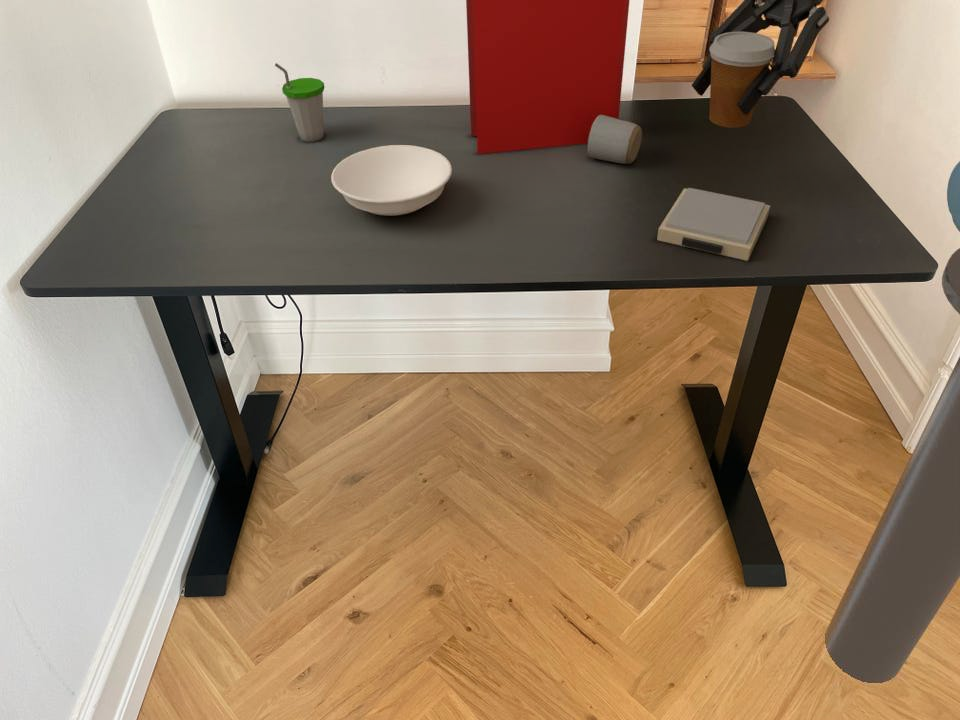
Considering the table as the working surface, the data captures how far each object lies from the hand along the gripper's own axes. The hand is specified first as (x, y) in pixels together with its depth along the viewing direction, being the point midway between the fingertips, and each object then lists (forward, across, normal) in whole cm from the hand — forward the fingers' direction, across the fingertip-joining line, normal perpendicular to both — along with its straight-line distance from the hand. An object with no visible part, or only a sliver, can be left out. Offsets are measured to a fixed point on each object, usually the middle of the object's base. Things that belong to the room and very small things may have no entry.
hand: (718, 99), depth 119 cm
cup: (+43, +62, +18) cm, 78 cm away
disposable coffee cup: (+1, 0, -5) cm, 5 cm away
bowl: (+42, +29, +18) cm, 54 cm away
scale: (+16, -7, -9) cm, 19 cm away
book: (+17, +35, -8) cm, 40 cm away
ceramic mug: (+13, +21, -12) cm, 28 cm away
